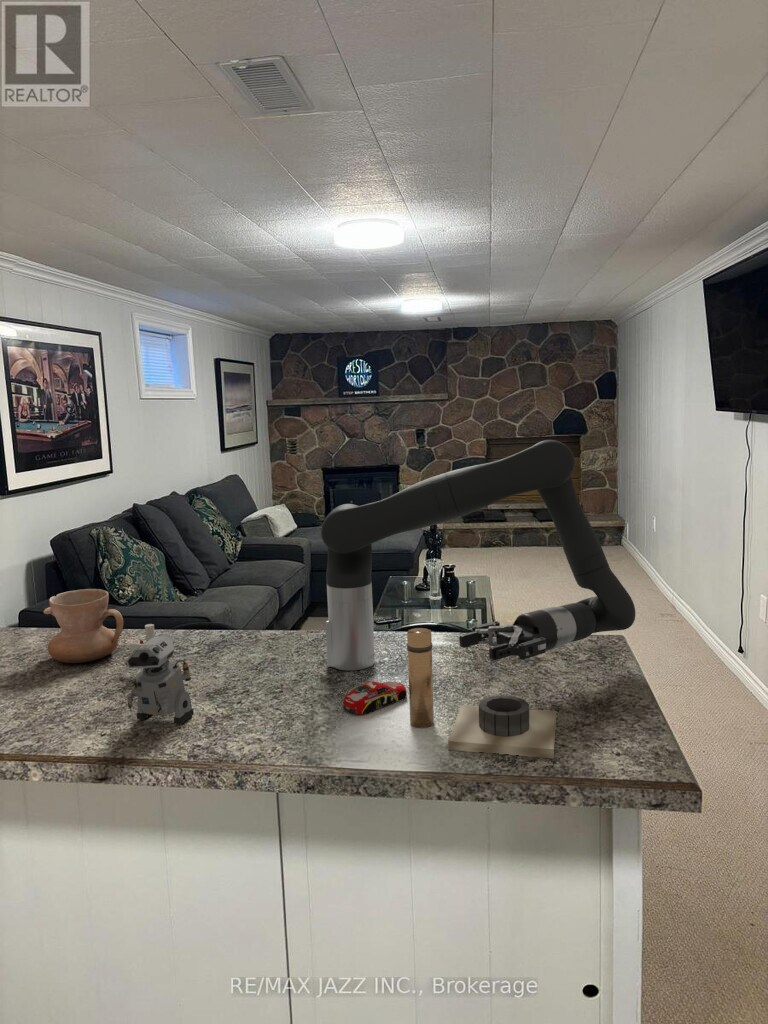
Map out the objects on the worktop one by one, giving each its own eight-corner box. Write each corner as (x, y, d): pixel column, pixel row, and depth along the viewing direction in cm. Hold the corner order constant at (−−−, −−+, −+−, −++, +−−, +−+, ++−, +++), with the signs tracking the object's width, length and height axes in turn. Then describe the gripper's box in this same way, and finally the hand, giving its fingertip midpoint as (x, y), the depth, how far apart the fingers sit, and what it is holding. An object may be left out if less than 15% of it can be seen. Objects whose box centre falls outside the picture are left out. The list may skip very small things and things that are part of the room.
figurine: (115, 735, 127) (107, 649, 125) (156, 708, 138) (150, 629, 136) (161, 741, 124) (153, 653, 122) (199, 713, 135) (193, 632, 133)
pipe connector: (117, 677, 154) (113, 630, 153) (149, 661, 163) (145, 616, 162) (157, 682, 150) (153, 634, 149) (187, 666, 160) (184, 620, 158)
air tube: (407, 727, 126) (404, 635, 124) (412, 716, 130) (409, 627, 128) (431, 729, 125) (429, 636, 123) (436, 718, 129) (434, 628, 127)
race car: (393, 690, 143) (392, 670, 142) (413, 698, 139) (412, 677, 138) (338, 710, 135) (337, 689, 134) (357, 719, 130) (356, 697, 130)
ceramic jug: (29, 667, 162) (23, 603, 160) (68, 645, 176) (63, 586, 174) (107, 671, 159) (102, 606, 157) (140, 648, 173) (135, 588, 171)
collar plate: (448, 750, 117) (447, 719, 117) (461, 713, 131) (461, 685, 130) (553, 758, 113) (553, 727, 113) (556, 719, 127) (556, 691, 126)
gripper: (519, 602, 145) (450, 618, 137) (572, 618, 133) (500, 637, 125) (520, 639, 146) (451, 657, 138) (573, 659, 134) (502, 680, 126)
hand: (475, 648), depth 131 cm, fingers open, 8 cm apart
